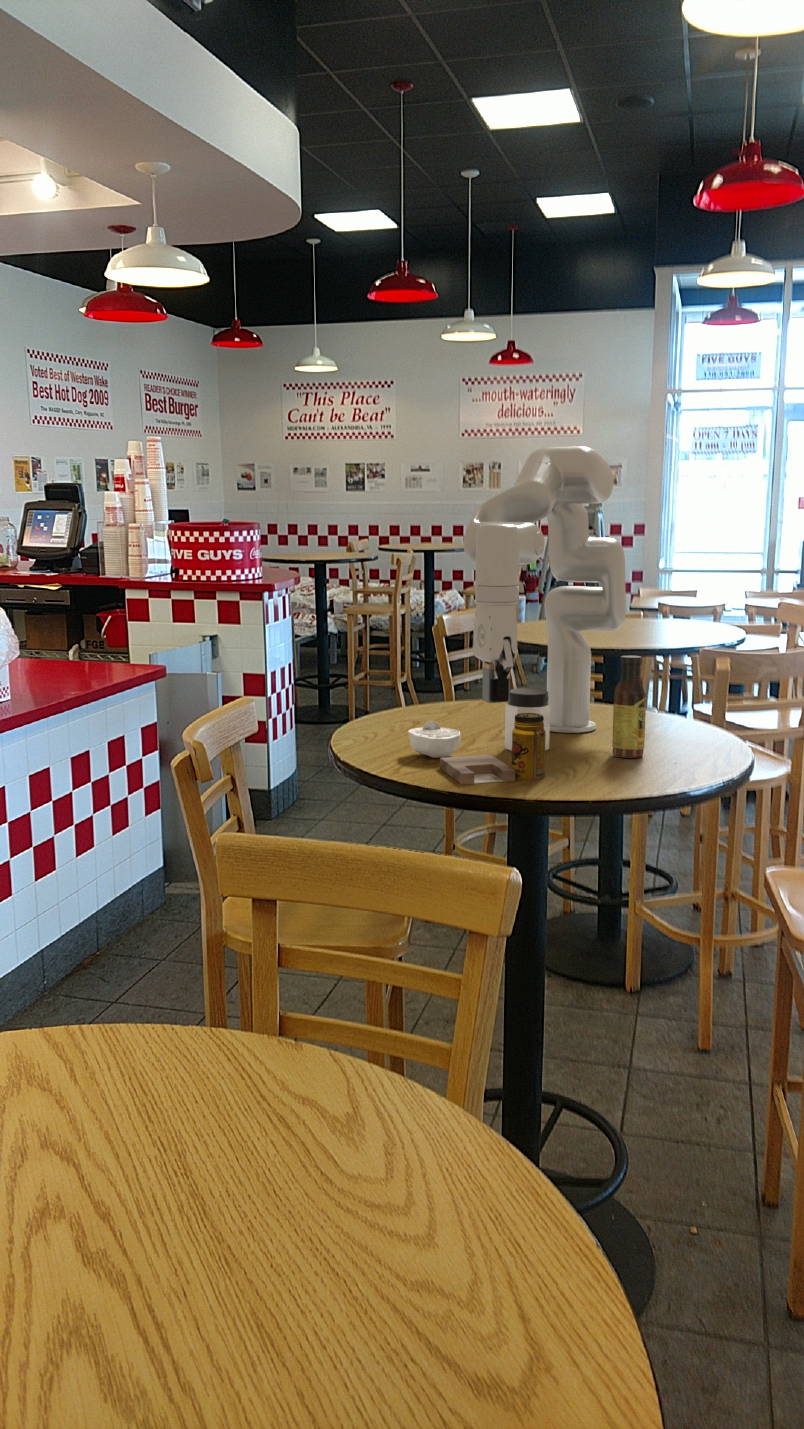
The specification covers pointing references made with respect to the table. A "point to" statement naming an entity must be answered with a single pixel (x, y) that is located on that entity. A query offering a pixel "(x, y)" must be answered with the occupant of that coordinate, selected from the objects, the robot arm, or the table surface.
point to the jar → (526, 710)
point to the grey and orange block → (489, 682)
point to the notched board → (477, 769)
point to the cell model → (434, 740)
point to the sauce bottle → (629, 710)
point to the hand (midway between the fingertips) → (495, 698)
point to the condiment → (528, 747)
